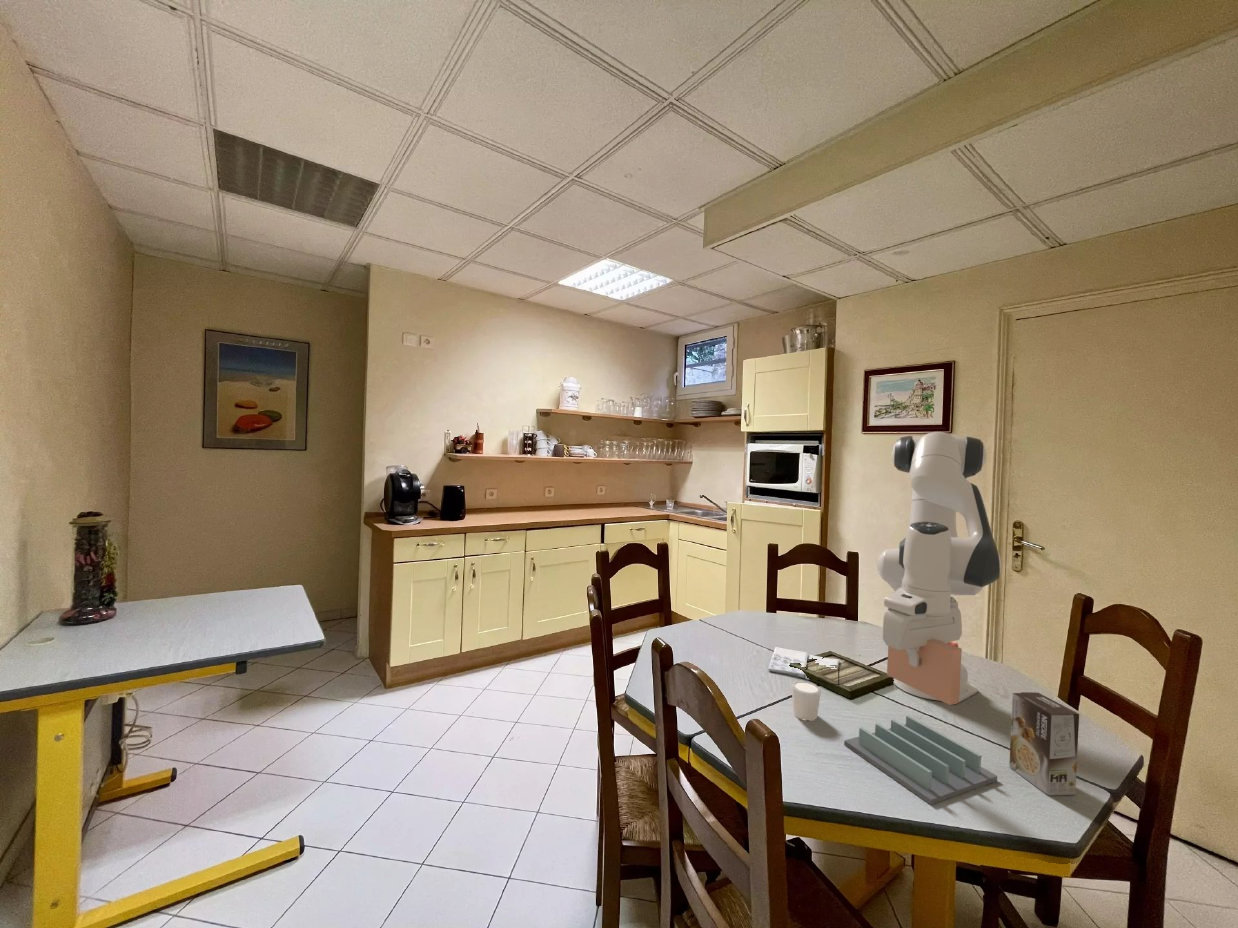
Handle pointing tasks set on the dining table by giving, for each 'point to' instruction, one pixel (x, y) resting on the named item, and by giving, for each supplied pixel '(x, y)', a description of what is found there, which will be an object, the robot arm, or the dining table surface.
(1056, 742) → the coffee box
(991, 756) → the dining table surface
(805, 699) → the white cylinder
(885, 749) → the dish rack
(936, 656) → the salmon pink panel
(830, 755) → the dining table surface
